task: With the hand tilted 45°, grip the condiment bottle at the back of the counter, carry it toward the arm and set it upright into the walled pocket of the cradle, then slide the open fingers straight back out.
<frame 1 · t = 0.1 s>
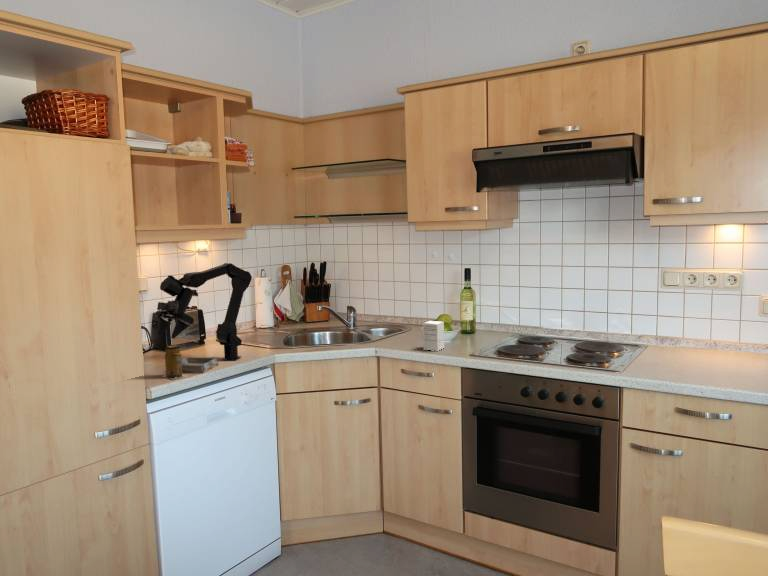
hand: (165, 337, 246), 15 cm above the worktop, tool tilted 35°, fingers open, 9 cm apart
condiment: (175, 377, 243), on the worktop
cradle: (194, 368, 256), on the worktop
supplement box: (433, 350, 282), on the worktop
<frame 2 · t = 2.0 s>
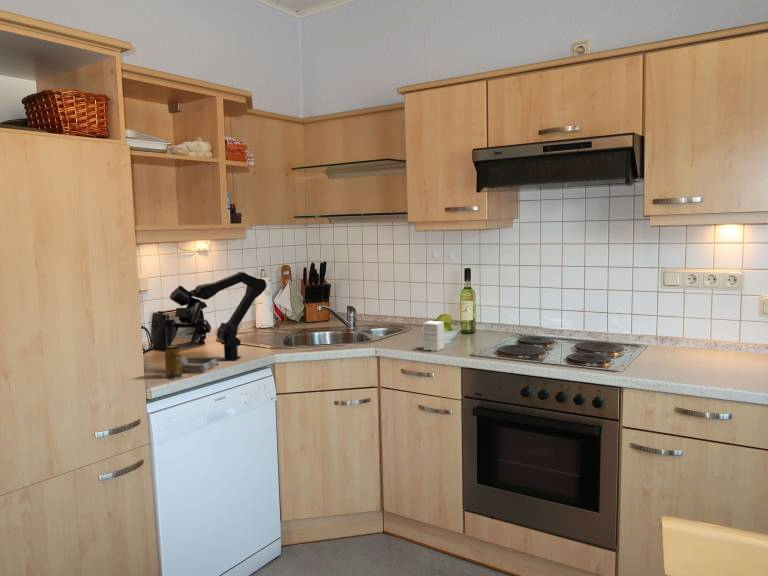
hand: (180, 343, 248), 12 cm above the worktop, tool tilted 45°, fingers open, 9 cm apart
nothing on the worktop moved.
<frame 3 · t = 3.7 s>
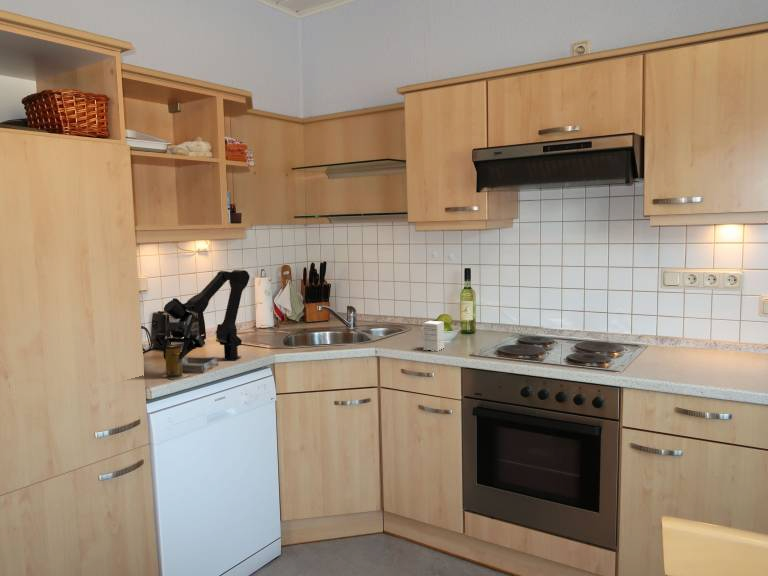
hand: (172, 358, 242), 7 cm above the worktop, tool tilted 45°, fingers closed on condiment, 6 cm apart
condiment: (175, 376, 243), on the worktop, touching gripper
everything else where it was.
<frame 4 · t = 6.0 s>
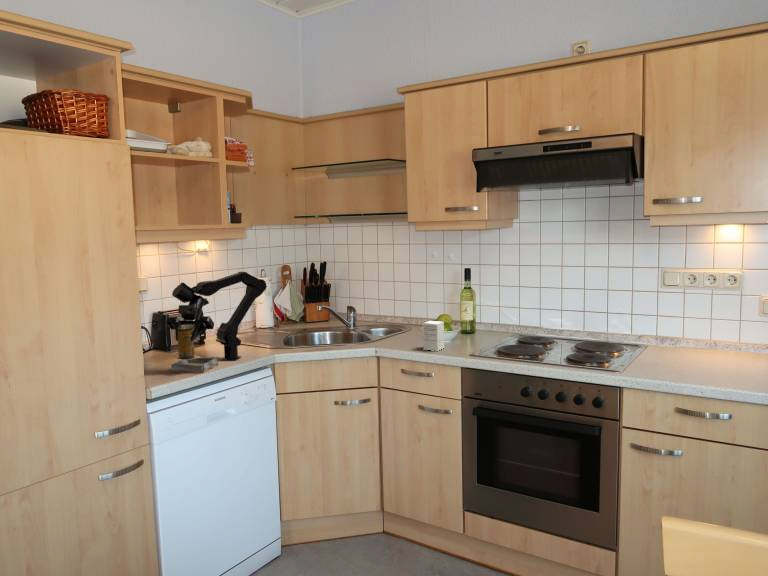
hand: (184, 340, 248), 13 cm above the worktop, tool tilted 45°, fingers closed on condiment, 6 cm apart
condiment: (187, 358, 249), point 6 cm above the worktop, touching gripper
everything else where it was.
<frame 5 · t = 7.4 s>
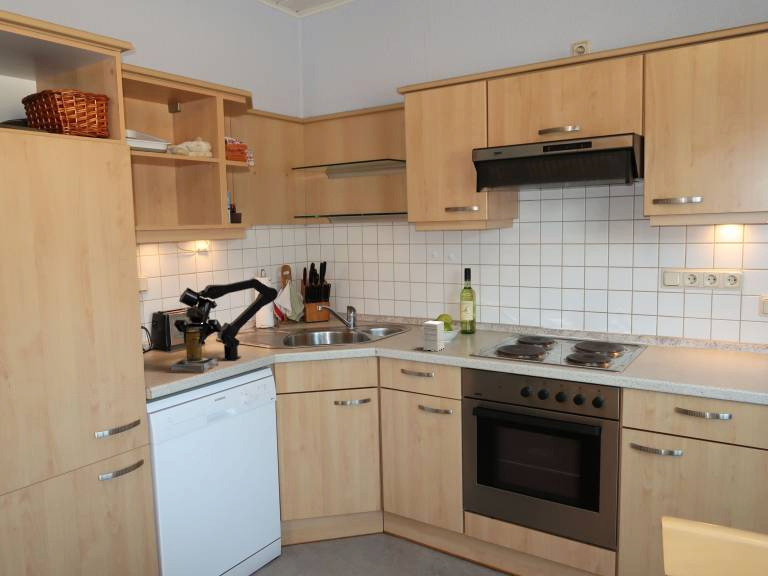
hand: (192, 342, 253), 11 cm above the worktop, tool tilted 45°, fingers closed on condiment, 6 cm apart
condiment: (195, 360, 254), point 4 cm above the worktop, touching gripper
everything else where it was.
when the fingers open (10 cm above the worktop, at t = 8.2 s): condiment stays where it is, resting on cradle.
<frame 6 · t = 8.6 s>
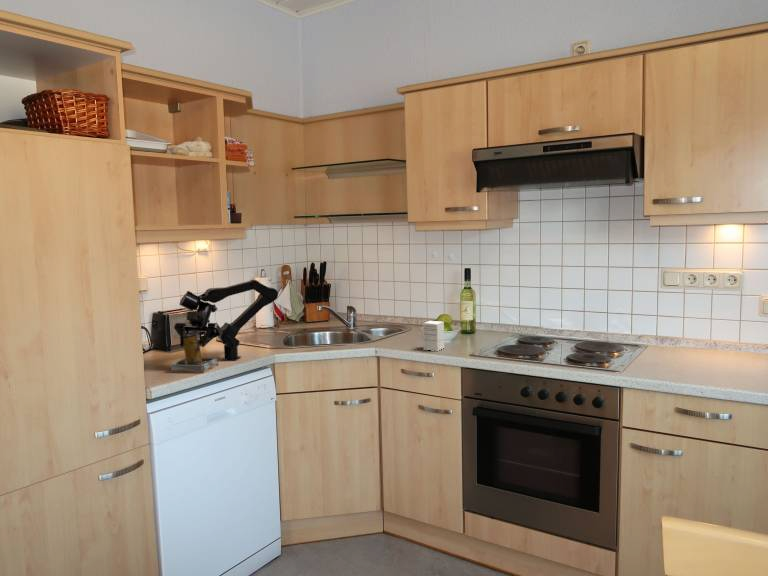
hand: (191, 346, 253), 10 cm above the worktop, tool tilted 45°, fingers open, 9 cm apart
condiment: (196, 364, 254), point 2 cm above the worktop, touching cradle, gripper
everything else where it was.
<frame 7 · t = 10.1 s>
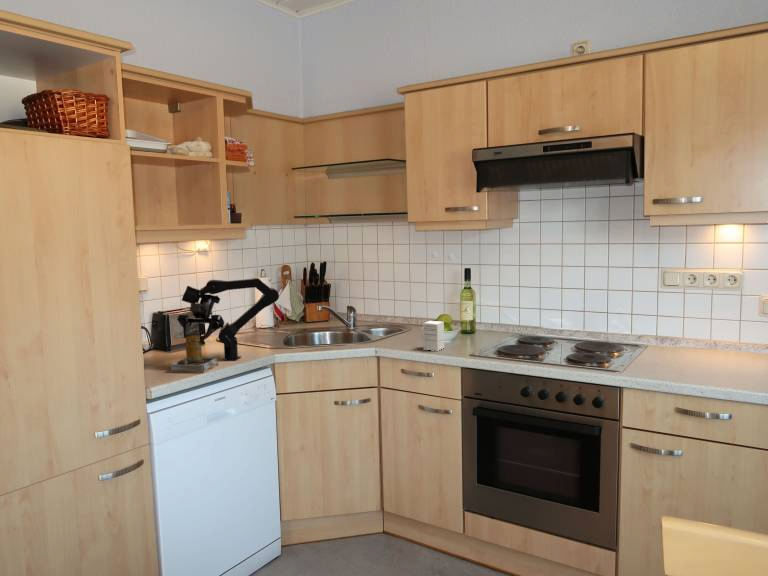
hand: (195, 337, 255), 13 cm above the worktop, tool tilted 45°, fingers open, 9 cm apart
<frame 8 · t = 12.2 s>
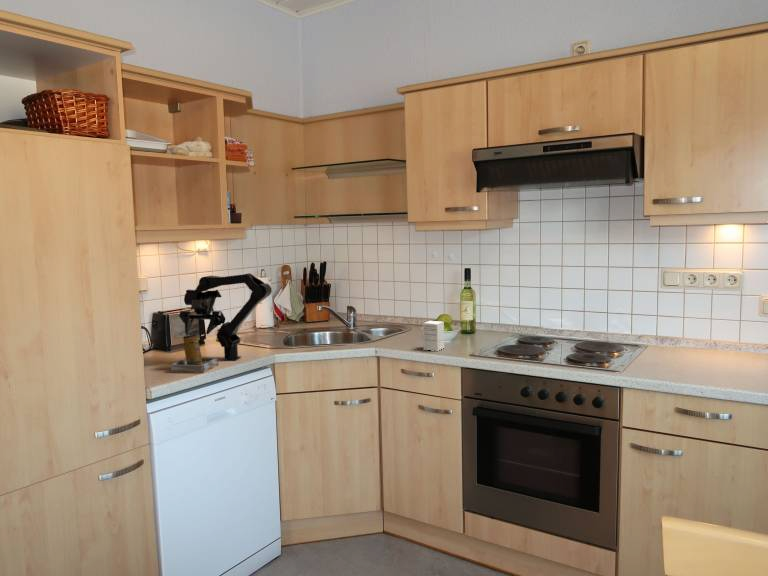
hand: (196, 333, 259), 14 cm above the worktop, tool tilted 45°, fingers open, 9 cm apart
condiment: (196, 364, 254), point 2 cm above the worktop, touching cradle
everything else where it was.
at the end: condiment 1.2 cm from the cradle (horizontally); condiment tilted 14°; the gripper is holding nothing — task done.
